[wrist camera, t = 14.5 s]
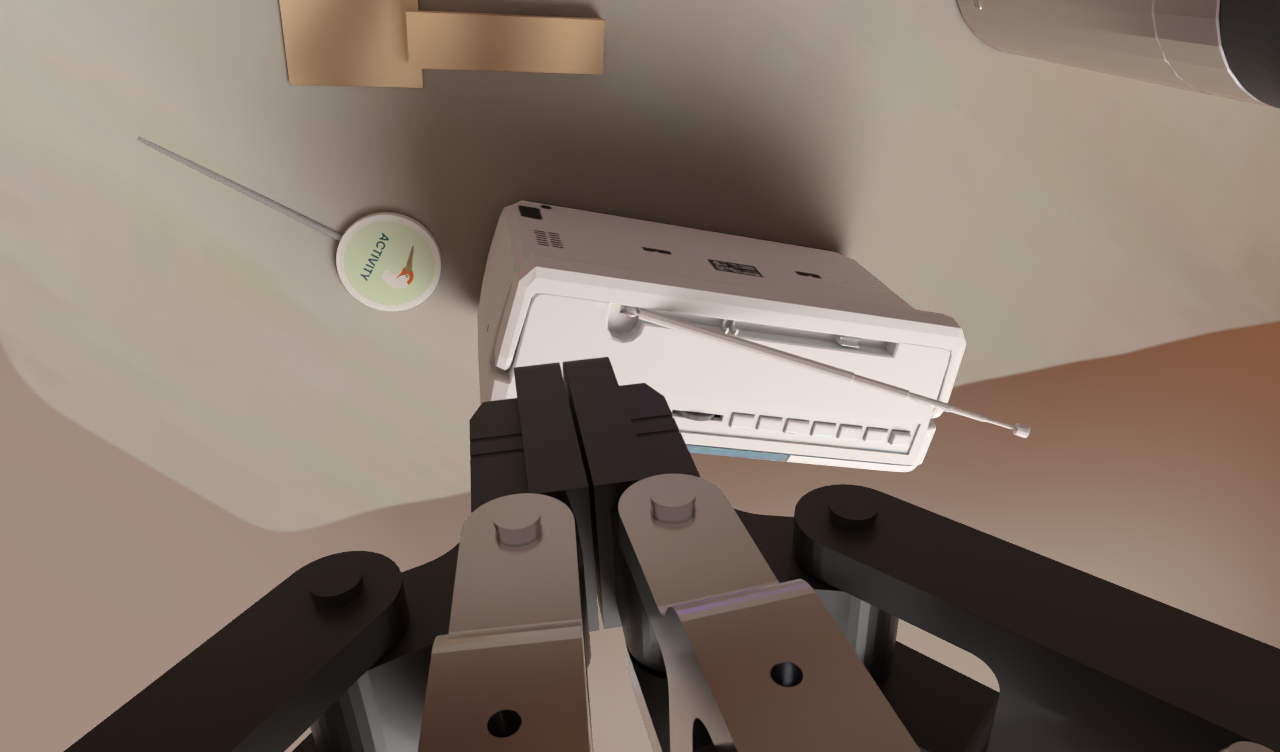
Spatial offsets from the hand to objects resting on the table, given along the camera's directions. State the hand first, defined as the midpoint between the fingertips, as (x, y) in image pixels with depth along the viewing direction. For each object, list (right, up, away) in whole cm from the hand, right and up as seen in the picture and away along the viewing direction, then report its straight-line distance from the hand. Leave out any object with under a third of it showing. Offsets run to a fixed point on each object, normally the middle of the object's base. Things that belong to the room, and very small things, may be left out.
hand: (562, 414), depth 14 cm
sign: (-16, +9, +29) cm, 35 cm away
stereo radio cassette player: (+3, +6, +34) cm, 35 cm away
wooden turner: (-8, +17, +27) cm, 32 cm away
